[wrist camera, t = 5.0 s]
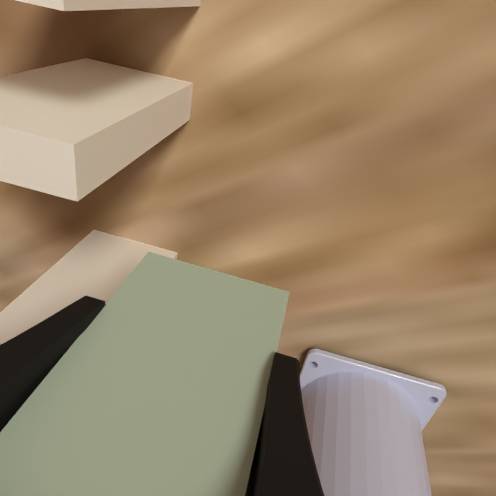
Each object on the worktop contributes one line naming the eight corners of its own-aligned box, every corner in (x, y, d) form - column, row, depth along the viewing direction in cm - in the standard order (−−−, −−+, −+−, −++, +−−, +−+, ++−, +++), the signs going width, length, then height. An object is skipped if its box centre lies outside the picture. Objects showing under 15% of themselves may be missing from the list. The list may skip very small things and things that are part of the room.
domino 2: (175, 275, 23) (91, 405, 16) (94, 252, 24) (-24, 368, 16) (177, 252, 22) (89, 378, 15) (93, 229, 23) (-33, 341, 15)
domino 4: (189, 119, 18) (77, 201, 11) (87, 94, 19) (-87, 157, 11) (193, 83, 18) (73, 144, 10) (86, 58, 18) (-105, 99, 11)
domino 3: (279, 326, 14) (197, 683, 7) (146, 287, 15) (-68, 582, 7) (289, 292, 13) (209, 657, 6) (148, 251, 14) (-93, 545, 6)
